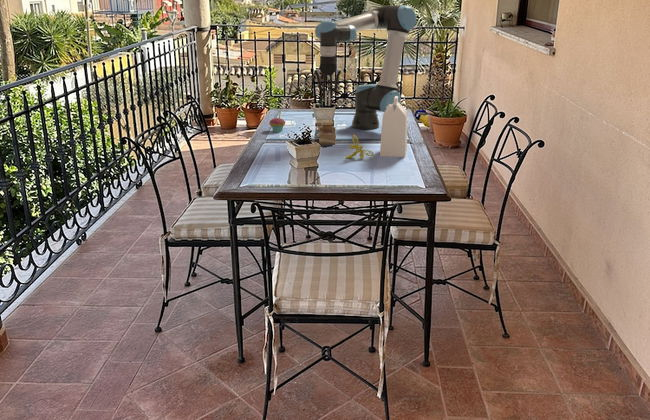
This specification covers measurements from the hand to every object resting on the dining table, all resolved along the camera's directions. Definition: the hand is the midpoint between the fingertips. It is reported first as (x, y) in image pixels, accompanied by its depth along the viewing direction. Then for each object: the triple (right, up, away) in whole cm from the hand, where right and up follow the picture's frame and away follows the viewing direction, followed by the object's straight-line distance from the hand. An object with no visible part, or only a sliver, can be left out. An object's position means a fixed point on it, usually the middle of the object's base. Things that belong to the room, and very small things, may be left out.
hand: (327, 105), depth 281 cm
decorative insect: (+14, -28, -22) cm, 38 cm away
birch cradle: (0, -16, +10) cm, 19 cm away
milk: (+31, -25, -12) cm, 41 cm away
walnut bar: (0, -11, +9) cm, 15 cm away
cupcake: (-27, -9, +28) cm, 40 cm away
